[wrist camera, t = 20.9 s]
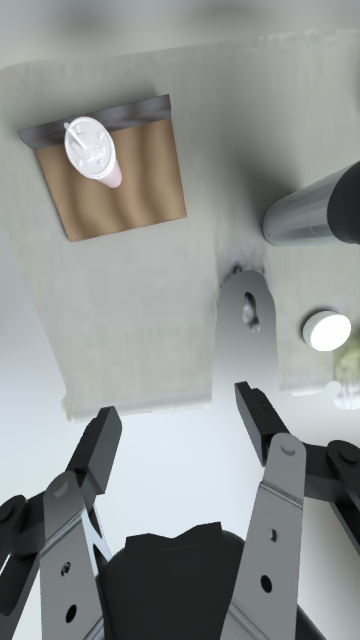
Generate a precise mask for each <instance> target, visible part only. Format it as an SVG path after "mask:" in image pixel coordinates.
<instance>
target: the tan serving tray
mask: <svg viewBox="0 0 360 640" xmlns="http://www.w3.org/2000/svg"><path fill="white" fill-rule="evenodd" d="M79 117H90V118H93V119H95V120H97V121H98V122H99V123H101V124H102V125H103V126H104V128H105V129H106V130H107V132H108V133H109V135H110V137H111V138H112V140H113V143H114V147H115V154H116V159H117V162H118V165H119V168H120V170H121V174H122V181H121V183H120V185H119V186H118V187H115V188H111V187H108V186H106V185H105V184H103V183H101V182H99V181H97V180H96V179H91V178H88V177H86V176H84V175H82V174H81V173H80V172H79V171H78V170H77V169H76V168H75V167H74V166H73V165H72V163H71V162H70V160H69V158H68V156H67V153H66V149H65V133H66V130H67V129H66V128H65V127H64V124H65V123H68V124H70V123H71V122H72V121H73V120H75V119H77V118H79ZM18 133H19V136H20V138H21V140H22V141H23V142H24V143H26V144H27V145H28V146H30V147H31V148H32V149H34V150H35V152H36V155H37V157H38V160H39V162H40V165H41V168H42V170H43V173H44V175H45V178H46V181H47V183H48V186H49V188H50V191H51V194H52V196H53V199H54V202H55V204H56V207H57V209H58V212H59V215H60V217H61V220H62V222H63V225H64V228H65V230H66V233H67V235H68V238H69V241H70V242H76V241H81V240H85V239H90V238H94V237H99V236H103V235H108V234H112V233H117V232H121V231H126V230H131V229H135V228H140V227H144V226H149V225H153V224H158V223H162V222H167V221H171V220H176V219H181V218H185V217H187V214H186V208H185V202H184V196H183V189H182V183H181V177H180V171H179V165H178V159H177V153H176V147H175V141H174V135H173V128H172V122H171V104H170V97H169V94H167V95H163V96H159V97H155V98H150V99H146V100H142V101H138V102H134V103H130V104H126V105H122V106H117V107H113V108H109V109H105V110H101V111H97V112H93V113H88V114H84V115H80V116H76V117H72V118H68V119H64V120H60V121H55V122H51V123H47V124H43V125H39V126H35V127H31V128H27V129H22V130H18Z"/></svg>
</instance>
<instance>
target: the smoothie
mask: <svg viewBox="0 0 360 640" xmlns="http://www.w3.org/2000/svg"><path fill="white" fill-rule="evenodd" d="M64 127H65V128H66V129H67V130H66V133H65V149H66V153H67V156H68V158H69V160H70V162H71V163H72V165H73V166H74V167H75V168H76V169H77V170H78V171H79V172H80V173H81V174H82V175H84V176H86V177H88V178H91V179H96V180H97V181H99V182H101V183H103V184H105V185H106V186H108V187H111V188H115V187H118V186H119V185H120V183H121V181H122V174H121V170H120V168H119V165H118V162H117V159H116V154H115V147H114V143H113V140H112V138H111V137H110V135H109V133H108V132H107V130H106V129H105V128H104V126H103V125H102V124H101V123H99V122H98V121H97V120H95V119H93V118H90V117H79V118H77V119H75V120H73V121H72V122H71V123H70V124H68V123H65V124H64Z"/></svg>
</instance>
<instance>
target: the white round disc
mask: <svg viewBox="0 0 360 640" xmlns="http://www.w3.org/2000/svg"><path fill="white" fill-rule="evenodd" d="M350 330H351V325H350V322H349V320H348V319H347V318H346V317H345V316H343V315H341V314H338V313H335V312H333V311H322V312H319V313H317V314H315V315H313V316H312V317H311V318H310V319H309V320H308V321H307V322H306V324H305V326H304V328H303V338H304V340H305V341H306V342H307V343H308V344H309V345H311V346H312V347H313V348H315V349H317V350H320V351H329V350H333V349H335V348H337V347H339V346H340V345H341V344H343V343H344V342H345V341H346V339H347V338H348V336H349V334H350Z"/></svg>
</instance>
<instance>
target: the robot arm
mask: <svg viewBox="0 0 360 640" xmlns="http://www.w3.org/2000/svg"><path fill="white" fill-rule="evenodd" d="M262 229H263V234H264V237H265V238H266V240H267V241H268V242H269V243H270V244H272V245H274V246H278V247H283V246H309V245H333V244H354V243H356V244H359V245H360V161H358V162H356V163H354V164H352V165H350V166H348V167H346V168H344V169H342V170H340V171H338V172H336V173H334V174H332V175H330V176H327V177H325V178H323V179H321V180H319V181H317V182H315V183H313V184H311V185H309V186H307V187H305V188H302V189H300V190H298V191H296V192H294V193H292V194H290V195H288V196H286V197H284V198H282V199H280V200H278V201H276V202H275V203H273V204H272V205H271V206H270V207H269V209H268V210H267V212H266V214H265V216H264V219H263V226H262ZM234 385H235V393H236V402H237V406H238V410H239V412H240V415H241V417H242V419H243V422H244V424H245V427H246V429H247V431H248V434H249V436H250V439H251V441H252V443H253V445H254V448H255V451H256V453H257V455H258V458H259V460H260V462H261V465H262V467H265V471H264V476H263V480H262V482H260V484H259V487H258V490H257V494H256V499H255V503H254V507H253V511H252V516H251V520H250V524H249V529H248V533H247V537H246V541H244V540H243V539H242V538H240V537H239V536H237V535H235V534H234V533H231V532H229V531H225V530H222V527H221V522H214V523H208V524H202V525H197V526H195V527H193V528H191V529H190V530H188V531H186V532H184V533H183V534H181V535H179V536H177V537H175V538H167V537H163V536H159V535H155V534H150V533H147V534H141V535H136V536H129V537H126V543H125V547H124V548H123V549H121V550H120V551H119V552H117V553H116V554H115V555H114V556H113V557H112V555H111V553H110V550H109V548H108V546H107V543H106V541H105V537H104V534H103V530H102V527H101V524H100V520H99V516H98V513H97V510H96V506H95V504H94V502H95V498H96V495H100V494H105V490H106V487H107V483H108V480H109V475H110V472H111V469H112V465H113V462H114V458H115V454H116V451H117V447H118V444H119V440H120V436H121V432H122V423H121V420H120V418H119V416H118V414H117V411H116V409H115V407H114V406H110V407H104V408H101V409H100V411H99V413H98V415H97V417H96V418H93V419H92V421H91V422H90V423H89V424H88V425H87V427H86V429H85V431H84V433H83V436H82V437H81V439H80V442H79V443H78V445H77V448H76V450H75V451H74V454H73V456H72V458H71V460H70V462H69V464H68V466H67V468H66V470H65V472H63V473H61V474H60V475H58V476H57V477H56V478H55V479H54V480H53V481H52V482H51V483H50V485H49V486H48V487H47V489H46V490H45V491H43V492H42V493H40V494H38V495H36V496H34V497H32V498H30V499H28V500H26V498H25V497H24V496H23V495H17V496H14V497H12V498H11V499H9V500H7V501H6V502H5V503H4V504H2V505H1V506H0V570H1V568H2V566H3V564H4V562H5V560H6V558H7V556H8V555H9V554H10V557H9V559H8V561H7V563H6V566H5V567H4V570H3V571H2V573H1V575H0V640H12V637H13V635H14V632H15V629H16V627H17V624H18V622H19V619H20V617H21V614H22V611H23V609H24V606H25V603H26V601H27V598H28V596H29V593H30V591H31V588H32V585H33V583H34V580H35V578H36V575H37V572H38V570H39V567H40V590H41V619H42V640H326V638H325V637H324V636H323V635H322V633H321V632H320V631H319V630H318V629H317V627H316V626H315V625H314V624H313V622H312V621H311V620H310V619H309V617H308V616H307V615H306V614H305V613H304V611H303V610H302V609H301V608H300V606H299V605H298V604H297V597H298V581H299V565H300V548H301V533H302V517H303V499H304V496H305V497H310V498H314V499H318V500H323V501H327V502H329V503H330V505H331V507H332V509H333V511H334V512H335V514H336V516H337V517H338V519H339V521H340V523H341V525H342V526H343V528H344V530H345V531H346V533H347V535H348V537H349V538H350V540H351V542H352V544H353V545H354V547H355V549H356V550H357V552H358V554H359V556H360V449H359V448H358V447H357V446H355V445H353V444H351V443H349V442H346V441H342V440H334V441H331V442H329V444H328V446H327V447H324V446H317V445H310V444H306V443H304V442H301V441H300V440H299V439H298V438H296V437H295V436H293V435H292V434H290V432H289V431H288V429H287V428H286V426H285V425H284V423H283V422H282V420H281V419H280V417H279V416H278V414H277V412H276V411H275V409H274V408H273V406H272V405H271V403H270V402H269V400H268V399H267V397H266V395H265V394H264V393H263V392H262V391H260V390H259V389H258V388H254V389H251V388H250V387H249V385H248V383H247V382H246V381H244V382H239V383H235V384H234Z"/></svg>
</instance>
